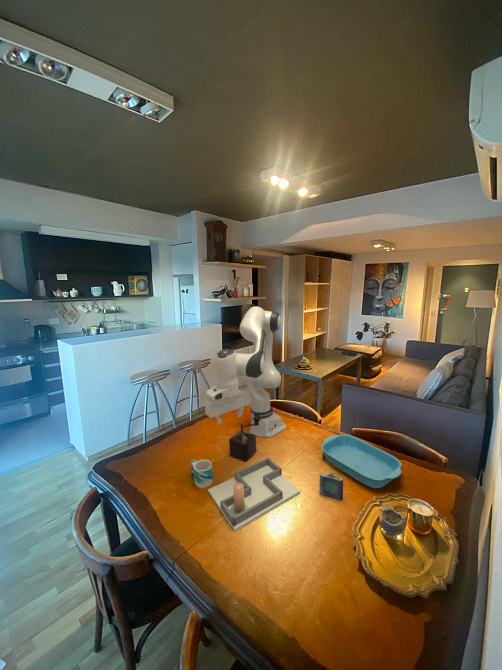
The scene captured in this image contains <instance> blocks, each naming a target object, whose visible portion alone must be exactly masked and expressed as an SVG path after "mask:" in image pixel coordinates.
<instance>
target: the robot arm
mask: <svg viewBox="0 0 502 670" xmlns="http://www.w3.org/2000/svg"><path fill="white" fill-rule="evenodd" d="M281 325H282V317H281V315H280V313H279V312H277V311H274V310H273V311H269V310H265V309H263V308H262V307H260V306H251V307H250V308H249V309H248V310H246V311H244V312H243V313H242V315H241V322H240V325H239V331H240V335H241V336H242V338H244V339H245V340H246V341H248V342H251V343H253V344H252V345H253V346H252V352H251V353H242V352H241V353H239V352H235V350H233V349H230V348H226V349H221V350H220V351H218V352H217V353H216V356H215V375H216V384H215V385H213V387H211V388H209V389H208V390H206V392H205V395H206V399H205V402H204V403H205V404H204V414H206V416H207V417H208V418H210V419H211V418H215V419H216V421H217V422H216V423H217V424H218V425H222V424H223V419H222V418H221V417H220V416H221V415H223V414H226V413H229V412H232V411H235V410H238V411H237V412H236V417H237V418H242V417H243V412H244V410H245V407H247V406H250V405H251V406H250V407H251V408H250V416H251V417H250V418H251V422H250V424H254V420H253V418H254V416H259V417H260V418H261V419H260V421H259V425H257V426H255V425H254V426H250V427H249V433H251V434H254V435H256V437H259V438H269V439H270V438H272V437H274V436H276V435H277V434H279V433H281V432H282V431H284V430H286V429H287V425H286V423H285V422H283V420H282V417H281V416H280V415H279V414H277V413H275V412H276V411H277V409H276V408H275V407H272V405H271V396H270V394H269V393H268V391H266V389H277V388H278V387H279V386H280V385H281V383H282V375H281V373H280V371H279V370H278V369H277V368H276V367H275V365H274V362H273V361H274V360H273V342H274V333H276V332H277V331H278V330H279V329H280V327H281ZM238 377H239V379H238ZM239 380H240V382H242V385H239Z"/></svg>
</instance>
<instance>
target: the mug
mask: <svg viewBox="0 0 502 670" xmlns="http://www.w3.org/2000/svg"><path fill="white" fill-rule="evenodd" d="M189 465H190V472H191V473H192V474H193V481H194V485H196V486H197V487H196V486H195V487H196V488H198V487H199V489H206V487H207V488H209V487H210V486H211V485H212V484H213V481H214V476H213V475H214V474H213V463H212V462H211V460H208V459H205V458H204V459H199V460H196V459H193V460H191V461H190V464H189Z"/></svg>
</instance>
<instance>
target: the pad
mask: <svg viewBox="0 0 502 670" xmlns="http://www.w3.org/2000/svg"><path fill="white" fill-rule="evenodd" d="M246 509H248V506H247V505H246V504H245V510H246ZM230 511H231V513H232V514H233V516H236V515H237V514H238V513H236V512H235V510H234V505H233V506H232V507H231V509H230Z"/></svg>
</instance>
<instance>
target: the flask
mask: <svg viewBox="0 0 502 670" xmlns="http://www.w3.org/2000/svg"><path fill="white" fill-rule="evenodd" d="M318 492H319V495H320V496H322V497H327V498H329V499H330V498H332V499H335V500H337V501H343V498H344V479H343V478H342V477H341V476H339V475H335V474H334V471H333V470H330V471H329V472H328V473H326V472H321V473H319V491H318Z"/></svg>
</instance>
